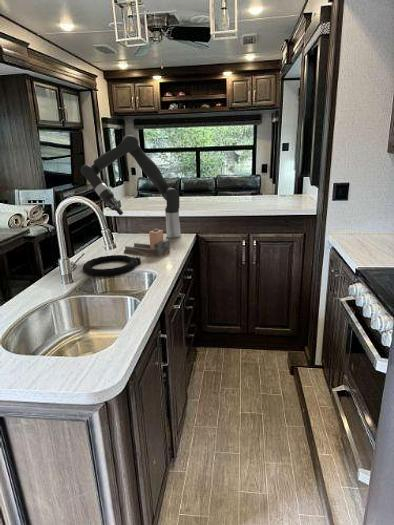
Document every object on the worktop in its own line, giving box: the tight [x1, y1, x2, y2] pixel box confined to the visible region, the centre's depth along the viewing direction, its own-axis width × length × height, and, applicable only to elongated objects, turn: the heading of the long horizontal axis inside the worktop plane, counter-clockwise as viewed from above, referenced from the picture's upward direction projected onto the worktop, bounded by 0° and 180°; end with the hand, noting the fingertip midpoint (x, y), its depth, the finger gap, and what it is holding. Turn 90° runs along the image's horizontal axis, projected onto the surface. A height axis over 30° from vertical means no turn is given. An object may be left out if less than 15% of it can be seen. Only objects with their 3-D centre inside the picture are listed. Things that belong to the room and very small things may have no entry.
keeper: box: [148, 228, 165, 250], centre depth 202 cm, size 6×5×13 cm
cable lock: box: [82, 254, 142, 277], centre depth 183 cm, size 28×4×30 cm
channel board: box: [123, 239, 171, 258], centre depth 207 cm, size 12×25×8 cm, turn 60°
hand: (121, 214), depth 211 cm, fingers closed
